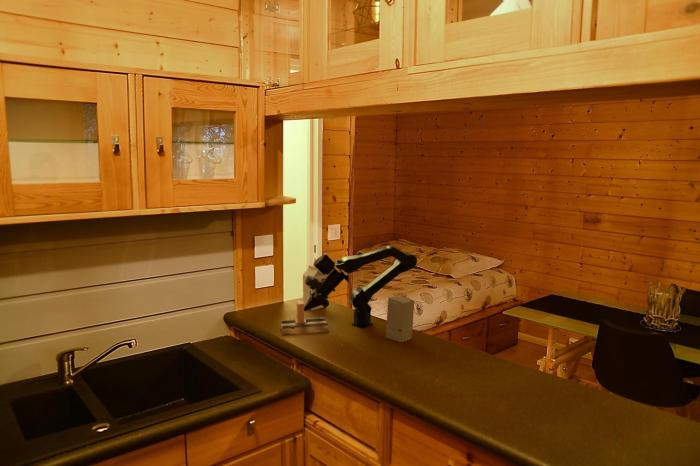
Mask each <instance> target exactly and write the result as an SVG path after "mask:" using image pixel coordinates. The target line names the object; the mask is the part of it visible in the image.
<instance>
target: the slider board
mask: <svg viewBox="0 0 700 466" xmlns="http://www.w3.org/2000/svg"><path fill="white" fill-rule="evenodd" d="M295 319H296V318H295ZM295 319H294V318H293V319H292V318H289V319H280V328H281V332H282V335H297V334H309V333H322V332H323V333H324V332H325V333H327V332H329V323H328V322H327V321H326V317H310V318H307V317H306V318H304V319H305V320H306V324H296V323H295Z"/></svg>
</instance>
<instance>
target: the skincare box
mask: <svg viewBox="0 0 700 466" xmlns="http://www.w3.org/2000/svg"><path fill="white" fill-rule="evenodd" d="M387 302H388V303H387V312H386V324H385V325H386V326H385V338H387V339H389V340H392V341H396V342H398V343H400V342H402V343H405V342H407V340H408V341H410V339H411V340H412V337H413V326H414V310H415V300H414V299H412V298H409V297H406V296H401V295H394V296H390V297H388V300H387ZM404 341H405V342H404Z"/></svg>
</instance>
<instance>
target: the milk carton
mask: <svg viewBox="0 0 700 466" xmlns="http://www.w3.org/2000/svg"><path fill="white" fill-rule="evenodd" d="M308 275H309V276H312V277H315V278H317V279H319V280H321V279H322V278H324V279H325V278H326V276H325V275H326V274H325V275H323V274H322V273H321V272H320V271H319V270H318V269H317V268H316V267H315V266H313V265H308V267H307V269H306V270H305V271H304V273H303V274H302V292H303V294H302V298H303V299H302V300H303V303H304V307H305V305H306V303H307V302H308V300H309V298H310V291H311V292H312V291H313V290H312V289H310V288H309V286H308V285H306V283H305V281H306V278H307V276H308ZM322 308H324V307H323V306H321V305H320V306H318V307H315V308H312V309H310V310H311V311H315V310H318V309H322Z"/></svg>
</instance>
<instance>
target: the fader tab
mask: <svg viewBox="0 0 700 466" xmlns="http://www.w3.org/2000/svg"><path fill="white" fill-rule="evenodd" d="M305 319H306V318H305V311H304V303H303V299H302V300H296V318H295V323H296V324H306V320H305Z"/></svg>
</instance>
